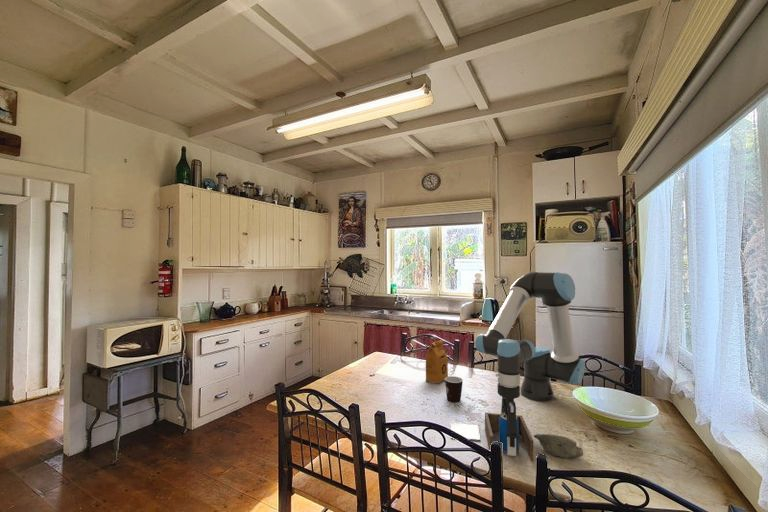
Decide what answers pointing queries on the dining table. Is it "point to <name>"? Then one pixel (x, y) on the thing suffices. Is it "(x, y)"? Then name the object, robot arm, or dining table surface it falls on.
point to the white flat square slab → (466, 430)
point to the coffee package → (436, 363)
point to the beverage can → (505, 432)
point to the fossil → (559, 445)
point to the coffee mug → (453, 388)
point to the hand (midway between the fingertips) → (508, 445)
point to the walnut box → (523, 431)
